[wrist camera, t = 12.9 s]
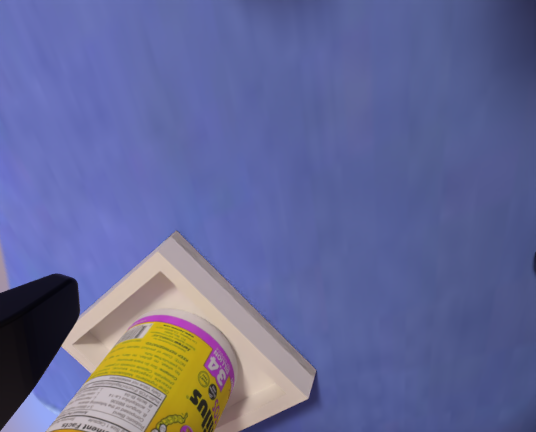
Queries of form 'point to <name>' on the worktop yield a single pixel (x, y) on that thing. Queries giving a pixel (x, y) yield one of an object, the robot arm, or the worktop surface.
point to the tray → (211, 309)
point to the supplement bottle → (157, 379)
